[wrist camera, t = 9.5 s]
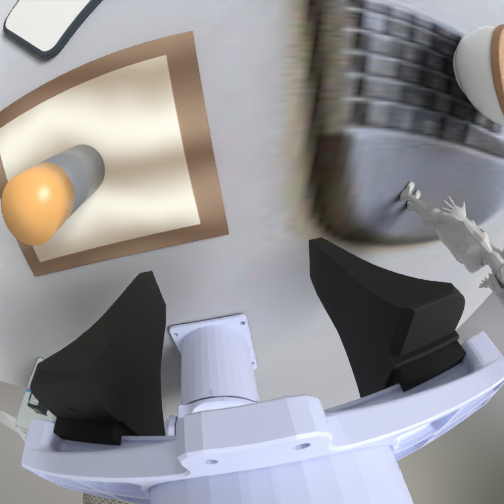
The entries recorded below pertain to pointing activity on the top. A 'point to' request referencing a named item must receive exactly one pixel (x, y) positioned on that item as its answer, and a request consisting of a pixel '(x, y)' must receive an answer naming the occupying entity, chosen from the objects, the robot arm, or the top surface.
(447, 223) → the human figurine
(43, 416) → the ink box
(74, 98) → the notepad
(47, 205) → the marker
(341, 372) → the top surface
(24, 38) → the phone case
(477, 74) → the lidded jar
